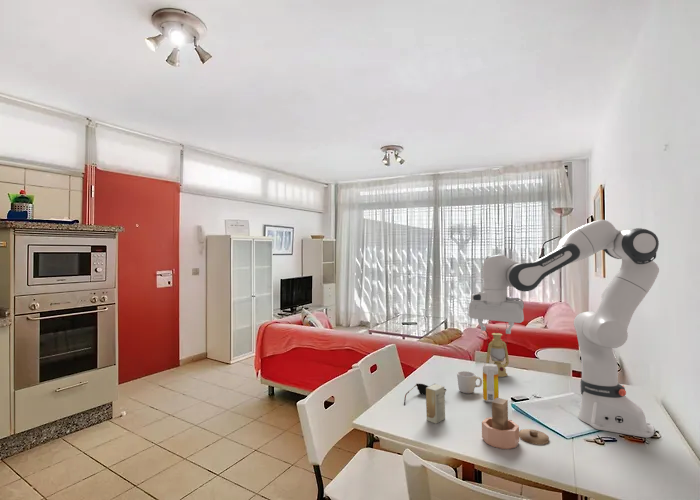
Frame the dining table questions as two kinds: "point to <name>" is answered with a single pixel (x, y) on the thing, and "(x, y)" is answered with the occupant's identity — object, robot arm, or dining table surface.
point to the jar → (500, 435)
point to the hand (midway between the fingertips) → (495, 332)
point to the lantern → (498, 353)
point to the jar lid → (533, 436)
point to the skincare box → (435, 403)
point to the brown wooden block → (500, 414)
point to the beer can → (490, 382)
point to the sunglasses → (420, 390)
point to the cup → (467, 381)
